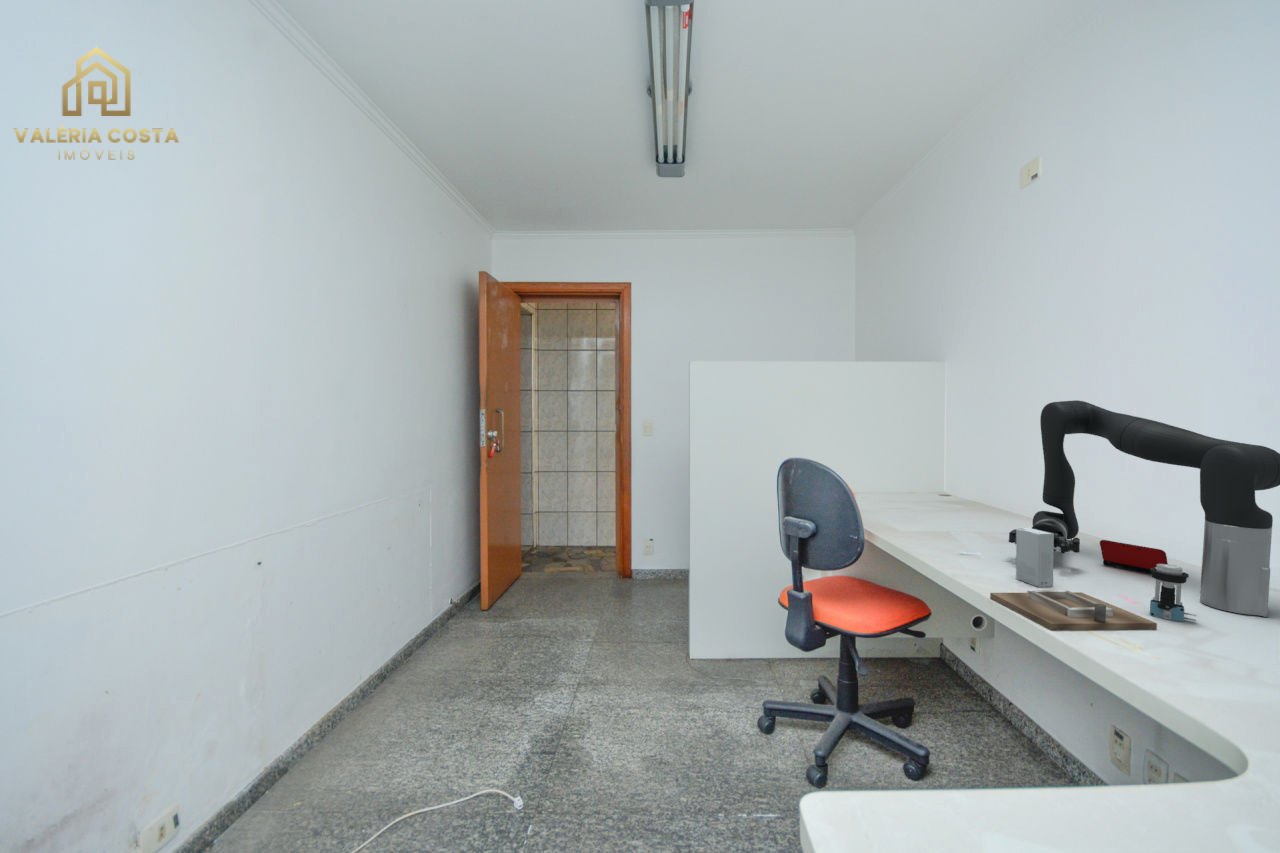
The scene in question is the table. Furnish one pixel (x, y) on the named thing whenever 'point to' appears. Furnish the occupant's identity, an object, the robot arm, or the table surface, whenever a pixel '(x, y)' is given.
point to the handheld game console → (1131, 556)
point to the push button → (1168, 593)
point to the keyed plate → (1071, 611)
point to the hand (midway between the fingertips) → (1040, 545)
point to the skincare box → (1034, 557)
